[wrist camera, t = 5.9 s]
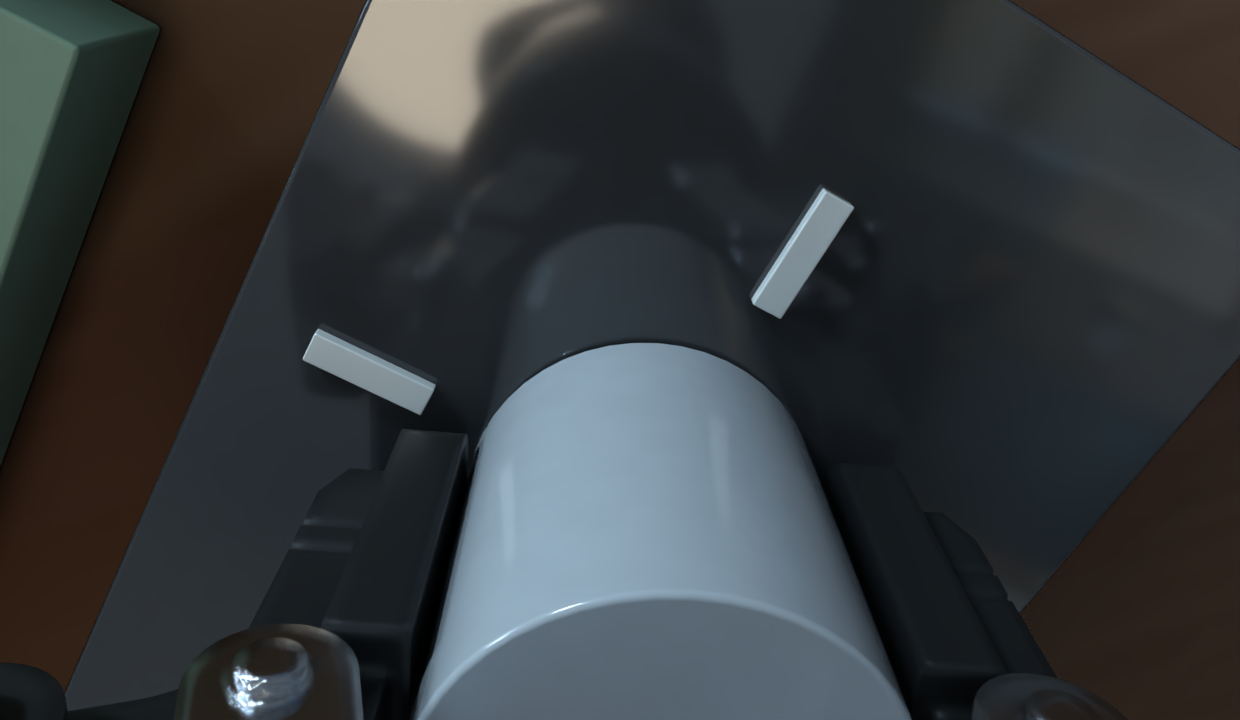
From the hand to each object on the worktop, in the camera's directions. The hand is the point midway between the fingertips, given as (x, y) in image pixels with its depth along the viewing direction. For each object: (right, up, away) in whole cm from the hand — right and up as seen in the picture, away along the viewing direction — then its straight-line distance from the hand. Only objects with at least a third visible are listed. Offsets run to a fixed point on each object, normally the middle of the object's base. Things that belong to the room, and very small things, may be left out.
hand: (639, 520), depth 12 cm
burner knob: (0, 0, 0) cm, 0 cm away
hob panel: (0, +1, +3) cm, 3 cm away
